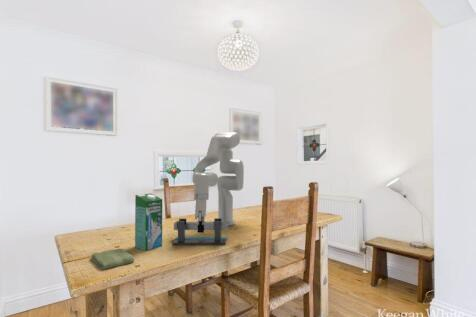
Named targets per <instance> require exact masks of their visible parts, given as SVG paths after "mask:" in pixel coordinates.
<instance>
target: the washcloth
mask: <svg viewBox="0 0 476 317" xmlns="http://www.w3.org/2000/svg"><path fill="white" fill-rule="evenodd" d="M90 260H91V261H92V262H93V263H95V265H96V266H98V267H99V268H100V269H102V270H108V269H111V268H117V267H119V266H123V265H124V266H125V265H128V264H133V263H134V261H135V258H134V256H133V255H132V254H130V253H128V252H127V251H125V250H124V249H123V248H116V249H108V250H104V251H101V252H94V253H92V254H91V257H90Z"/></svg>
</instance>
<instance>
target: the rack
mask: <svg viewBox="0 0 476 317" xmlns="http://www.w3.org/2000/svg"><path fill="white" fill-rule="evenodd" d="M176 222H177V225H176V229H178V230H177V236H178V240H173V241H172V242H171V244H172V246H226V244H227V243H226V240H221V236H222V235H221V234H222V230H221V226H222V218H218V217H217V218H215V217H214V220H213V222H214V230H213V231H214V234H213V236H214V240H185V236H186V230H185V227H186V222H187V218H179V219H178V220H177V221H176Z"/></svg>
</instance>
